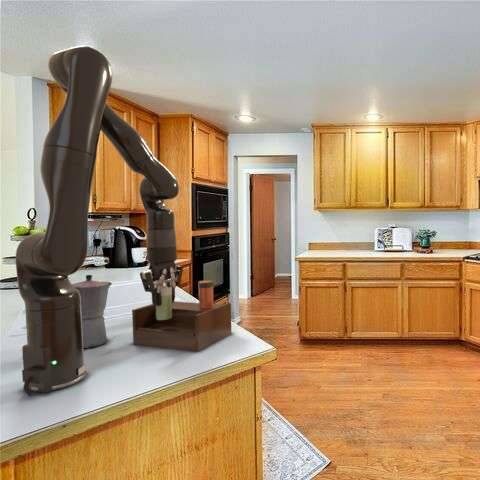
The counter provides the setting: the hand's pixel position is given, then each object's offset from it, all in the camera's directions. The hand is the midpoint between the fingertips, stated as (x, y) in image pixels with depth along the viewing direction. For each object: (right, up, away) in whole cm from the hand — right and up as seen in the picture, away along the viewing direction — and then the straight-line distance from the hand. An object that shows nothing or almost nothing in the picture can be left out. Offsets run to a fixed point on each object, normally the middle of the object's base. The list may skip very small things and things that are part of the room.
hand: (164, 303), depth 103 cm
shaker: (0, -5, 0) cm, 4 cm away
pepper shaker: (+10, -2, +5) cm, 12 cm away
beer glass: (-16, -10, +26) cm, 32 cm away
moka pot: (-21, -12, -2) cm, 24 cm away
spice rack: (+4, -11, +4) cm, 13 cm away
